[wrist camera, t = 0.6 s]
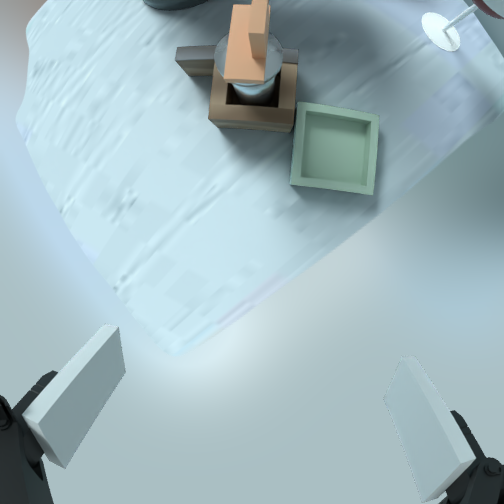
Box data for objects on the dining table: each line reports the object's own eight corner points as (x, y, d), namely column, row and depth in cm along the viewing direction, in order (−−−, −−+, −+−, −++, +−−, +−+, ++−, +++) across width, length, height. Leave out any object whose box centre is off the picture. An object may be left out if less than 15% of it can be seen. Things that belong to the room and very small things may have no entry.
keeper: (243, 45, 26) (226, -25, 13) (270, 46, 26) (269, -24, 13) (236, 105, 28) (212, 57, 15) (265, 107, 28) (261, 59, 15)
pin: (235, 73, 32) (218, 27, 19) (280, 76, 32) (284, 29, 19) (231, 113, 33) (210, 82, 21) (277, 117, 33) (280, 85, 21)
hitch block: (190, 64, 33) (177, 47, 27) (294, 68, 32) (298, 49, 26) (183, 127, 35) (167, 118, 29) (289, 132, 34) (293, 124, 28)
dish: (295, 107, 34) (297, 101, 31) (371, 119, 33) (379, 115, 30) (289, 184, 36) (291, 184, 33) (365, 193, 36) (372, 195, 33)
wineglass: (409, 12, 28) (472, -52, 8) (447, 11, 26) (510, -39, 7) (434, 54, 29) (514, 5, 10) (469, 51, 28) (546, 14, 9)
